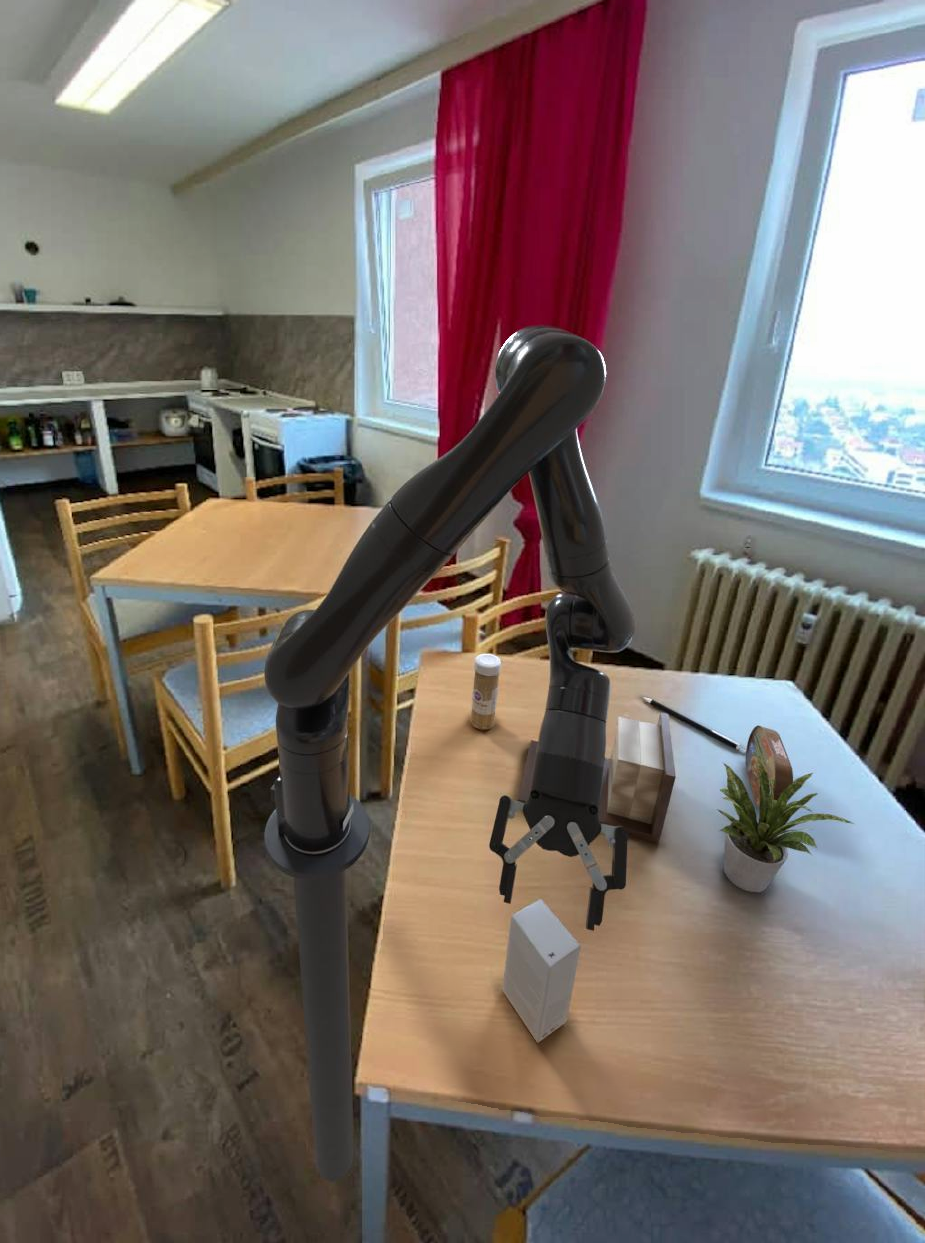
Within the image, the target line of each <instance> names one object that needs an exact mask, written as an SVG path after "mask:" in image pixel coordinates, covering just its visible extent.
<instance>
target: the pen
mask: <svg viewBox="0 0 925 1243" xmlns="http://www.w3.org/2000/svg"><path fill="white" fill-rule="evenodd" d="M643 699H644V700H645V701H646V702H648V703H649V704H650V705H651V706H654V707H656V708H657V709H660V710H661V711H663V712H664V713H666V714H669V715H671V716H673V717H675V718H676V719H678V720H680V721H682V722H683V723H686V724H688V725H690V726H691V727H694V729H697V730H698V731H701V732H703V733H705V734H707V735H708V736H710V737H712V738H713V739H716V740H718V741H720V742H721V743H723V744H725V745H727V746H729V747H731V748H732V749H735V750H736V751H738V750H739V751H741V752H743V753H745V754H746V749H744V748H743V747H741V744H740V743H739V742H737V741H734V740H733V739H731V738H729V737H727V736H725V735H723V734H721V733H719V732H717V731H715V730H713V729H709V728H707V727H706V726H704V725H702V724H700V723H698V722H696V721H694V720H693V719H690V718H688V717H687V716H685V715H683V714H681V713H679V712H677V711H675V710H673V709H671V708H669V707H667V706H666V705H664V704H662V703H660V702H658V701H656V700H654V699H652V698H648V697H646V696H645V697H644V696H643Z"/></svg>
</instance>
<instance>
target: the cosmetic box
mask: <svg viewBox="0 0 925 1243" xmlns="http://www.w3.org/2000/svg"><path fill="white" fill-rule="evenodd" d="M580 953H581V944H580V942H578V941H577V939H576V938H575V937H574V935H572V934H571V932H570V931H569V930H568V928H567V927H566V926H565V925H564V924H563V923H562V922H561V921H560V919H559V918H558V917H557V916H556V915H555V914H554V912H553V911H552V910H551V909H550V908H549V907H548V905H547V904H546V903H545V902H544V900H542V898H539V899H538V900H536V901H534V902H532V903H530V904H528V905H527V906H525V907H523V908H522V909H519V910H517V911H516V912H513V914H511V915H510V923H509V931H508V940H507V948H506V954H505V963H504V964H505V965H504V972H503V980H502V988H501V990H502V992H503V994H504V995H505V997H506V998H507V999H508V1001H509V1003H510V1004H511V1006H512V1007H513V1009H514V1010H515V1012H516V1013H517V1015H518V1017H519V1018H520V1019H521V1021H522V1022H523V1024H524V1025H525V1027H526V1028H527V1030H528V1031H529V1033H530V1034H531V1035H532V1037H533V1039H534V1040H535V1042H536V1043H538V1044H539V1043H540V1042H541V1041H543V1040H544V1039H545V1038H547V1037H548V1036H549V1035H551V1034H552V1033H553V1032H555V1031H556V1030H558V1029H559V1028H560V1027H562V1026H564V1025H565V1024H566V1023H567V1021H568V1016H569V1013H570V1012H569V1011H570V1006H571V1001H572V996H573V990H574V985H575V980H576V974H577V969H578V962H579V959H580V958H579V957H580Z"/></svg>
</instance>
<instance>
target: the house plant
mask: <svg viewBox="0 0 925 1243" xmlns="http://www.w3.org/2000/svg"><path fill="white" fill-rule="evenodd" d="M753 754H754V758H755V761H756V764H757V768H758V771H759V775H760V778H759V777H758V775H757V774H756V772H755V771H754V770H753V769H752V768H751V767H750V768H751V769H752V771H753V772H754V774H755V775H756V777H757V778H758V780H759V782H760V806H759V807H758V808H759V809H758V810H759V814H758V815H759V816H757V811H756V808H755V806H754V803H753V801H752V800H751V798H750V795H749V792H748V790H747V788H746V786H745V784H744V782H743V779H741V778H740V776H739V775H738V774H736V773H735V771H734V770H733V769H732V768H731V767H730V766H729V765H727V764H726V763H724V762H722V764H723V765H724V766H723V767H725V772H726V775H727V777H726V778H727V779H726V787H727V788H726V787H725V788H720V789H719V791H720V792H721V793H722V794H723V795H724V796H725V797H722V799H723V800H726V801H728V802H730V803H732V805H733V807H734V811H735V812H736V814H737V816H738V819H737V818H735V817H734V816H732V815H731V814H729V813H727V812H725V811H722V810H719V809H717V811H718V812H719V813H720V814H721V815H723V816H724V817H726V819H728V821H730V822H729V823H728V824H727V825H726V826H724V827H722V828H721V829H719V830H718V832H723V833H725V838H724V839H725V840H724V853H723V872H724V874H725V876H726V877H727V879H728V880H729V881H731V883H732V884H733V885H735V886H736V887H737V888H739V889H741V890H743V891H747V892H751V893H761V892H765V890H766V889H767V887H768V886H769V885H770V883H771V882H772V880H773V879H774V878H775V877H776V875H777V874H778V872H779V871H780V870H781V868H782V866H783V865H784V864H785V862H786V861H787V860H788V857H789V851H788V849H791V850H794V851H798V852H803V853H807V854H810V855H811V856H813V854H812V853H811V852H810V850H809V849H808V847H807V846H810V847H811V846H812V847H815V848H816V849H818V845H817V844H816V841H815V838H814V837H812V836H811V835H810V834H809V833H807V832H805V831H813V829H811V828H797V829H791V828H793V827H795V826H797V825H800V824H804V823H808V822H817V821H838V822H841V823H845V824H851V825H855V823H854V822H852V821H849V820H847V819H845V818H843V817H841V816H837V815H834V814H829V813H813V810H812V809H810V808H809V807H807V806H806V804H808V802H810V801H811V800H812V799H813V798H814V797H816V796H817V795H819V793H818V792H815V793H810V794H807V795H806V796H803V797H802V798H801V799H799V800H794V801H791V802H789V801H790V800H791V799H792V797H793V796H794V795H795V794H796V793H797V792H798V791H799V790H800V789H801V788H803V786H804V785H805V783H806V781H808V779H810V778H811V777H812V776H813V774H814V772H811V773H808V774H803V775H801V776H800V777H798V778H797V779H795V780H793V783H791V784H790V785H789V786H788V787H787V788H786V789H785V790H784V791H783V792H782V793H781V794H780V796H779V799H778V801H777V800H774V793H773V790H772V788H771V786H770V784H769V778H768V774H767V772H766V770H765V768H764V767H763V765H762V764H761V762H760V760H759V758H758V756H757V755H756V754H755V753H754V751H753ZM770 788H771V793H770ZM788 802H789V803H788ZM786 803H787V804H786ZM785 804H786V806H785ZM800 809H803V810H806V811H809V812H812V813H809V814H805V815H802V816H800V817H797V818H795V819H793V820H790V819H791V818H792V817H793V816H794V815H795V814H796V813H797V811H799V810H800ZM757 817H758V819H757ZM804 830H805V831H804ZM806 845H807V846H806Z"/></svg>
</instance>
